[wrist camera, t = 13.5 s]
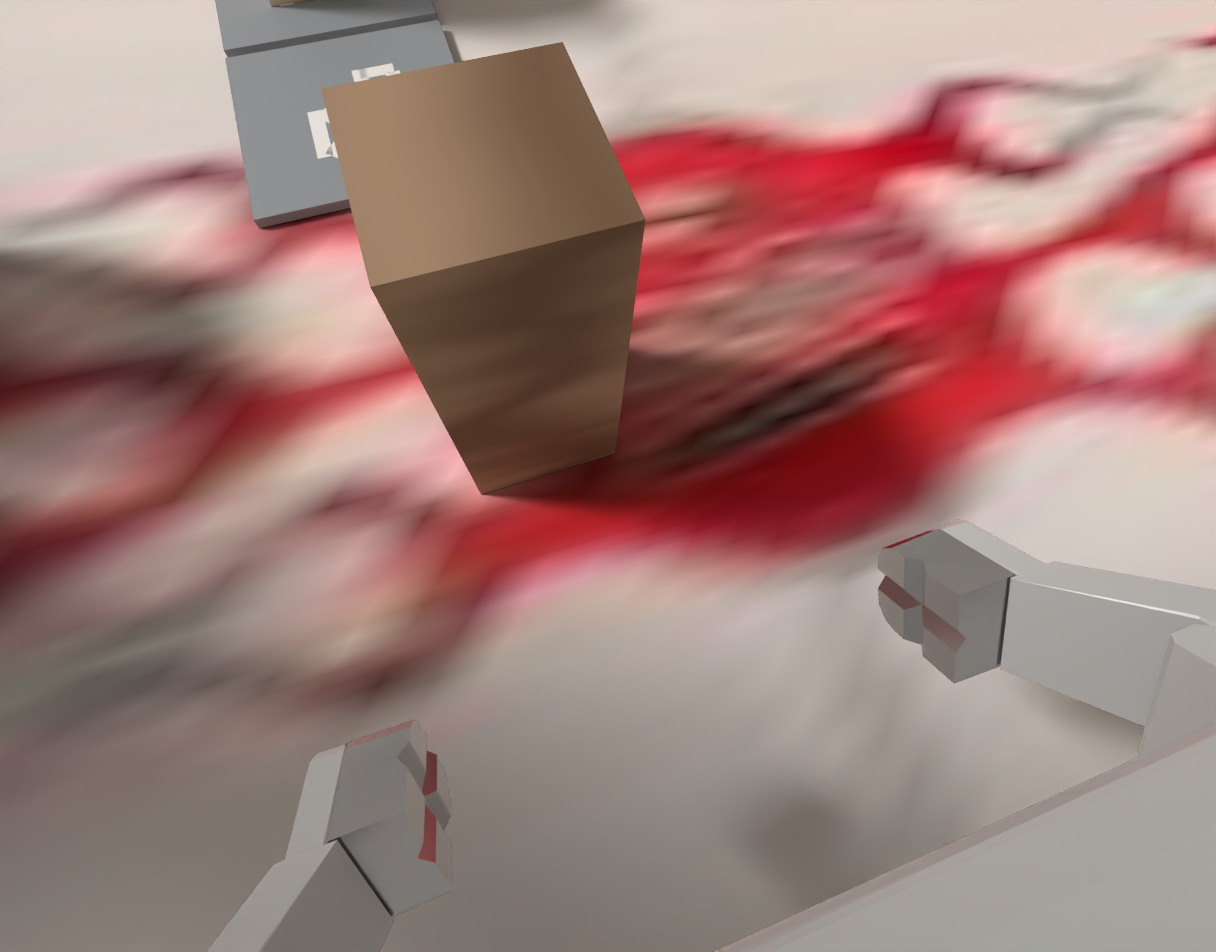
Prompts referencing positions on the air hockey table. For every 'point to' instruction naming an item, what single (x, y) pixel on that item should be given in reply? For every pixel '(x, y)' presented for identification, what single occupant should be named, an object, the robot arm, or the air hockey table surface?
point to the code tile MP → (310, 21)
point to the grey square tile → (312, 113)
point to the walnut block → (498, 251)
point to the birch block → (283, 2)
